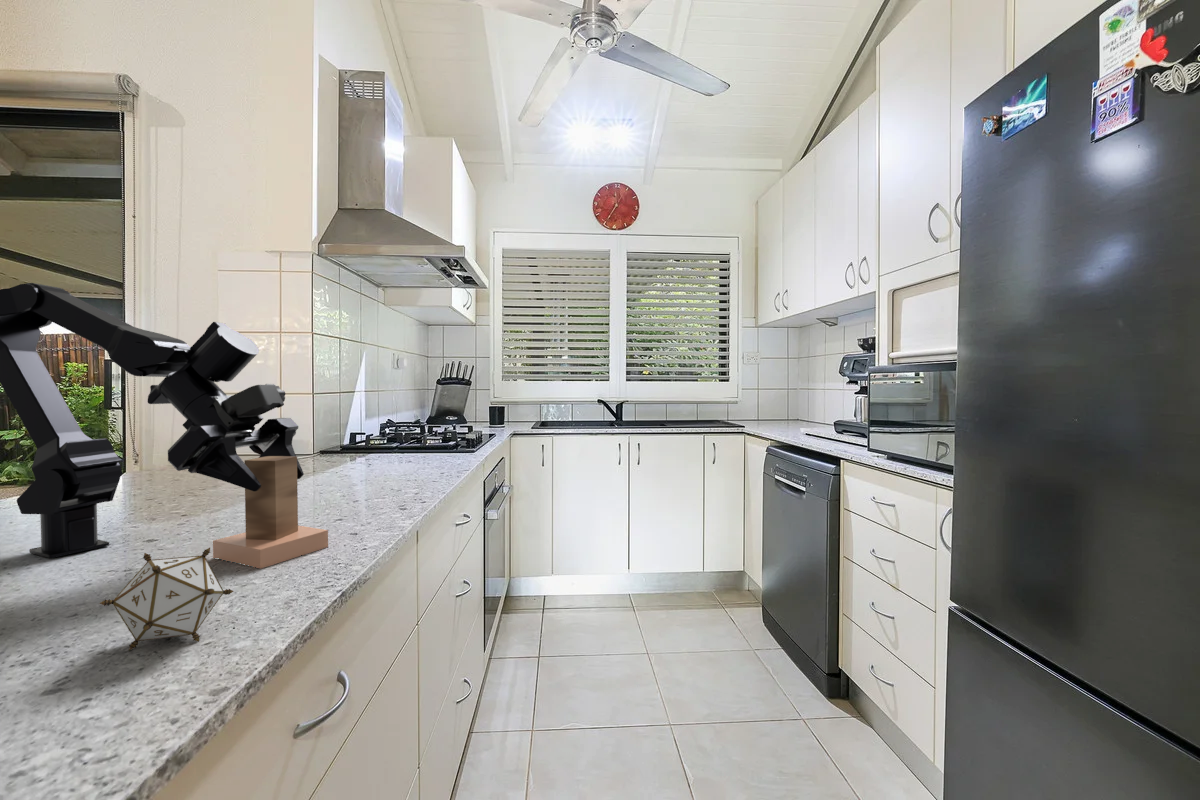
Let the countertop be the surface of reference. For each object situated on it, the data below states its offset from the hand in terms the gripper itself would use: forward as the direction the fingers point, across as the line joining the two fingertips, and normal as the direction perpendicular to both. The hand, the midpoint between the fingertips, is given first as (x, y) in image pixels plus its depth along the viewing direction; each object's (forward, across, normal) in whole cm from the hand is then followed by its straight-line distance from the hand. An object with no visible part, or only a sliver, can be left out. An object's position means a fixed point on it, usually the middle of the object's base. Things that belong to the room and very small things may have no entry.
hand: (281, 482), depth 74 cm
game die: (+12, -25, +3) cm, 28 cm away
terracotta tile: (+6, 0, +8) cm, 10 cm away
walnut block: (+4, 0, +6) cm, 8 cm away
